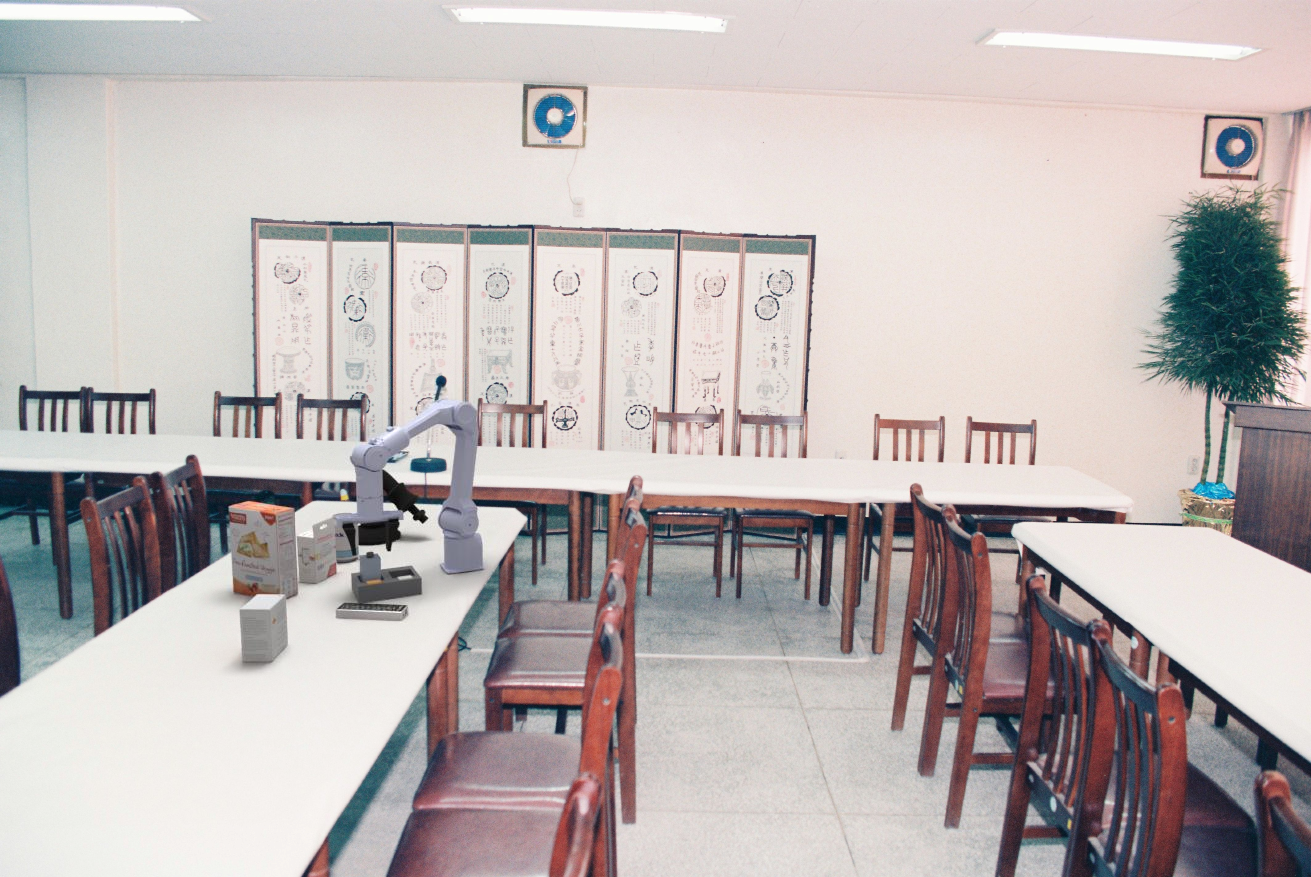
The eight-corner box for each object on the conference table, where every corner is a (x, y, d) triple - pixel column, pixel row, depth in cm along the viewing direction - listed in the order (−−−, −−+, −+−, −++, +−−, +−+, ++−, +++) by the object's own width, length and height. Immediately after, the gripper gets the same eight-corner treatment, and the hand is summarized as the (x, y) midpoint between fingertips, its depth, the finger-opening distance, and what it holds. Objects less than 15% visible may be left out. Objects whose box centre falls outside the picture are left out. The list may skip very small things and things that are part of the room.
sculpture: (358, 529, 232) (356, 448, 228) (436, 532, 231) (435, 451, 227) (336, 544, 216) (333, 457, 213) (419, 548, 216) (418, 460, 212)
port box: (411, 581, 189) (411, 564, 189) (421, 594, 181) (421, 576, 180) (351, 589, 182) (351, 572, 182) (358, 603, 174) (358, 585, 173)
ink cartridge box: (319, 571, 194) (317, 514, 192) (337, 573, 193) (335, 516, 191) (297, 582, 186) (295, 523, 184) (316, 584, 185) (313, 525, 183)
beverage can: (324, 561, 202) (323, 516, 200) (344, 554, 208) (343, 511, 206) (345, 565, 199) (344, 520, 198) (364, 557, 206) (363, 514, 204)
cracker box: (231, 593, 177) (226, 505, 174) (253, 585, 183) (249, 499, 180) (278, 603, 173) (274, 512, 169) (299, 594, 178) (295, 506, 175)
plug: (378, 585, 183) (377, 549, 181) (381, 591, 179) (380, 553, 178) (360, 588, 181) (359, 551, 179) (363, 593, 177) (362, 556, 176)
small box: (259, 644, 151) (256, 593, 150) (288, 644, 152) (286, 593, 150) (241, 662, 144) (238, 608, 142) (272, 662, 144) (269, 609, 142)
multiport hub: (344, 611, 170) (343, 601, 170) (408, 614, 170) (408, 604, 169) (335, 619, 166) (334, 609, 165) (401, 622, 165) (401, 612, 165)
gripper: (398, 489, 184) (399, 543, 186) (333, 494, 177) (335, 551, 179) (405, 495, 178) (406, 552, 180) (338, 501, 171) (340, 560, 173)
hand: (371, 552), depth 179 cm, fingers open, 7 cm apart
